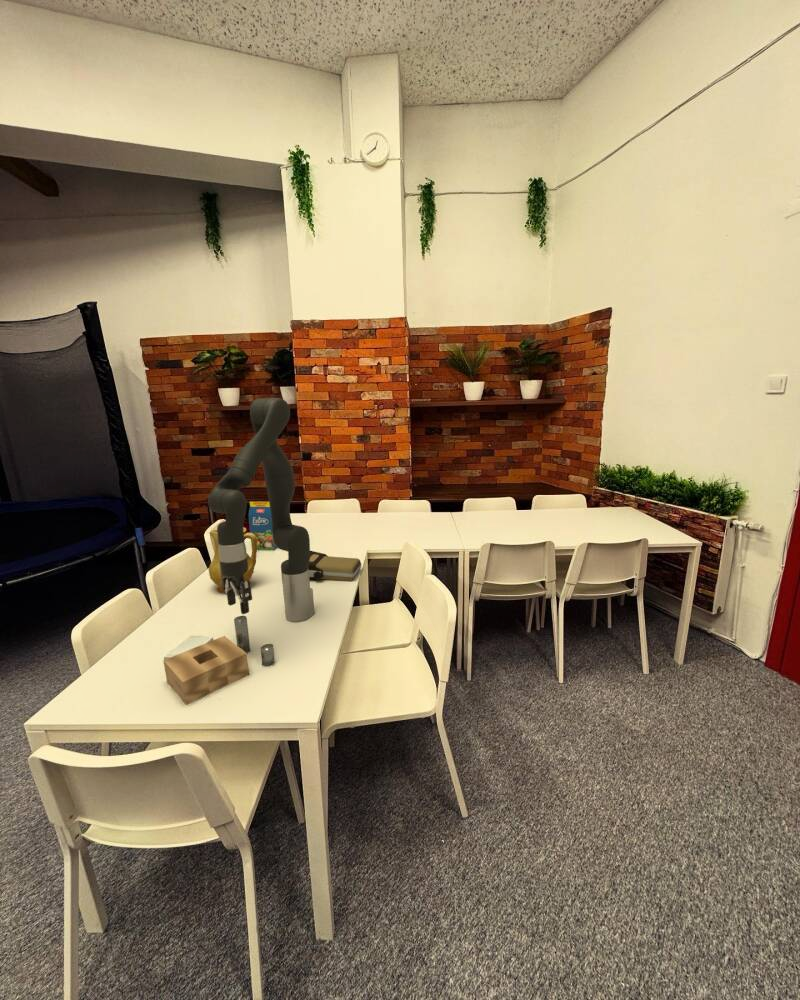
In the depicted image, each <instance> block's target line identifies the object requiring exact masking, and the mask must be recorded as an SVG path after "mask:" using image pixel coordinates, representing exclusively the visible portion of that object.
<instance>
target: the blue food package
mask: <svg viewBox="0 0 800 1000" xmlns="http://www.w3.org/2000/svg"><path fill="white" fill-rule="evenodd" d="M248 524H249V525H248V527H249V533H253V534H255V535H256V538H257V551H275V550H276V549H278V548H277V547H276V545H275V543H274V540H273V533H272V519H271V510H270V504H269V501H249V509H248ZM250 542H251V544H250V545H251V546H252V541H251V540H250Z"/></svg>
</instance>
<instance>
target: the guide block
mask: <svg viewBox="0 0 800 1000" xmlns="http://www.w3.org/2000/svg"><path fill="white" fill-rule="evenodd" d="M248 660H249V659H248V654H247V653H246V652H244V651H243V650H242V649H241V648H239V647H238V646H237V643H235V642H233V641H232V640H230V639H229V638H228V637H227V636H226V635H223V636H220V637H218V638H216V639H213V641H210V642H208V643H205V644H203V645H200V646H198V647H195V648H193V649H190V650H188V651H185V652H183V653H180V654H178V655H175V656H173V657H170V658H168V659H165V660H164V659H163V661H162V662H163V666H164V673H165V679H166V682H167V683H168V685H169V686H170V687H171V689H172V690H173V691H174V692H175V693H176V694H177V695H178V697H179V698H180V699H181V700H182V701H183V703H184V704H185V705H189V704H191V703H193V702H195V701H197V700H199V699H201V698H203V697H205V696H207V695H209V694H211V693H213V692H216V691H217V690H219V689H222V688H224V687H226V686H229V684H232V683H234V682H237V681H239V680H240V679H242V678H245V677H247V676H249V675H250V670H249V661H248Z"/></svg>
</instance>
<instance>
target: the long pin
mask: <svg viewBox="0 0 800 1000" xmlns="http://www.w3.org/2000/svg"><path fill="white" fill-rule="evenodd" d="M247 618H248V617H247V616H245V615H238V616H236V617H234V619H233V624H234V631H235V638H236V645H237V646H238V647H239V648H241V649H242V650H243V651H244V652H246V653H247V655H248V654H249V653H250V652H252V651H251V643H250V635H249V626H248V619H247Z"/></svg>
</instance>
